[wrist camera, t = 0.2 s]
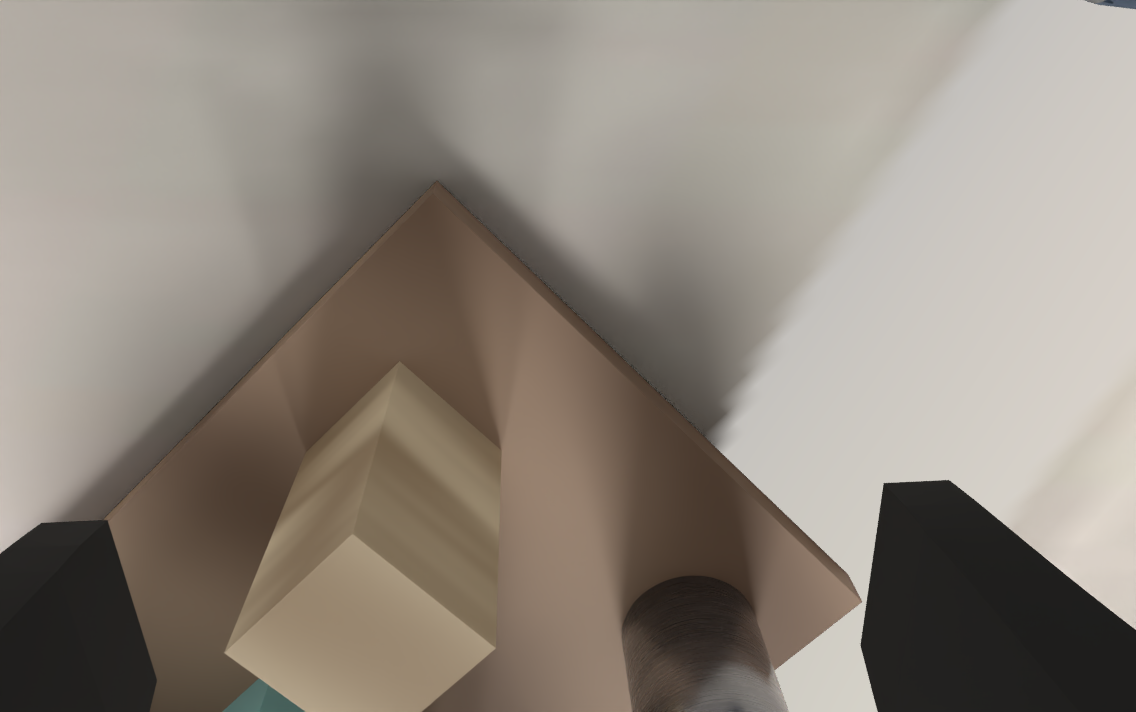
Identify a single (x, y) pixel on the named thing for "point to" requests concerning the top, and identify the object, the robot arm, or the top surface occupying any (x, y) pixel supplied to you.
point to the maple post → (380, 560)
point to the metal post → (697, 651)
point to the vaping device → (1116, 3)
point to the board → (528, 480)
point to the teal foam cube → (262, 700)
